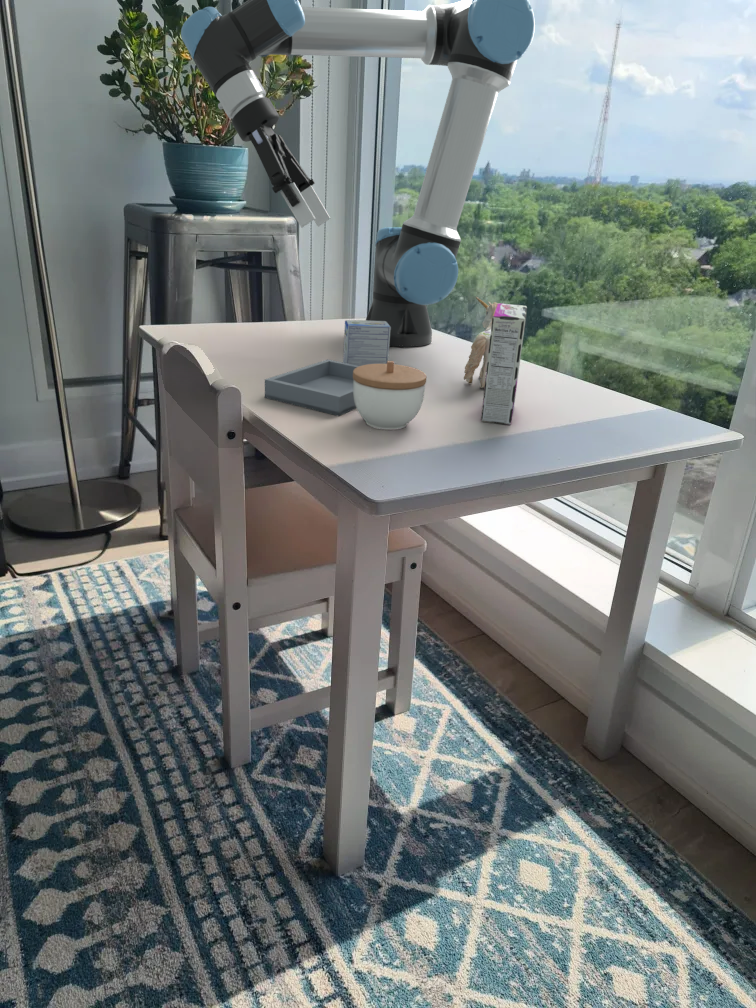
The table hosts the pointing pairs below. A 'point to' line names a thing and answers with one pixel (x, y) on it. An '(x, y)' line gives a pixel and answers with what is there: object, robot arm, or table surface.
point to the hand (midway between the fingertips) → (316, 223)
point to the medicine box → (366, 342)
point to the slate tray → (315, 387)
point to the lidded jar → (388, 394)
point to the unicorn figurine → (480, 347)
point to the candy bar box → (503, 363)
